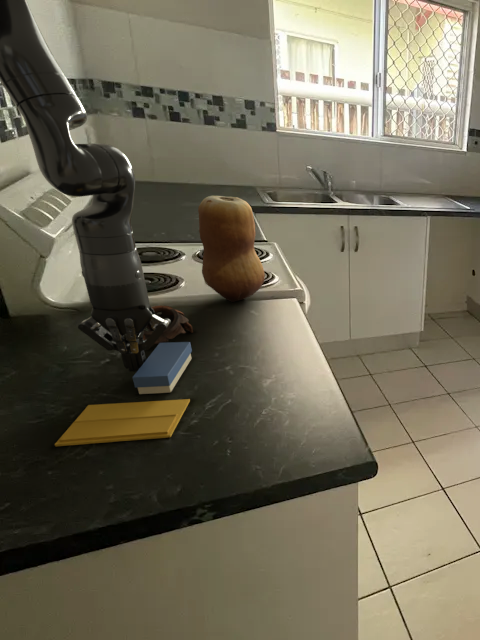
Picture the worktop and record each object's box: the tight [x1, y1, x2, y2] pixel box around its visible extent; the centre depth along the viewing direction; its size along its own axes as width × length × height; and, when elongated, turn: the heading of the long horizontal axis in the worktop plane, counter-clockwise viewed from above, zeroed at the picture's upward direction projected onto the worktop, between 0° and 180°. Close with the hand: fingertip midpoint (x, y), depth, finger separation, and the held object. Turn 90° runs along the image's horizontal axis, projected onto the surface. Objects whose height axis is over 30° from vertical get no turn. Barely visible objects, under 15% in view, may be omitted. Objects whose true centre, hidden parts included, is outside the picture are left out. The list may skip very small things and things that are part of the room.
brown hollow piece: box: [143, 304, 194, 345], centre depth 96 cm, size 12×10×8 cm
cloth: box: [54, 398, 191, 447], centre depth 73 cm, size 14×10×1 cm
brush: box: [132, 341, 193, 395], centre depth 85 cm, size 5×13×4 cm, turn 17°
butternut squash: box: [197, 195, 266, 303], centre depth 115 cm, size 14×13×25 cm
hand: (136, 369), depth 84 cm, fingers closed
